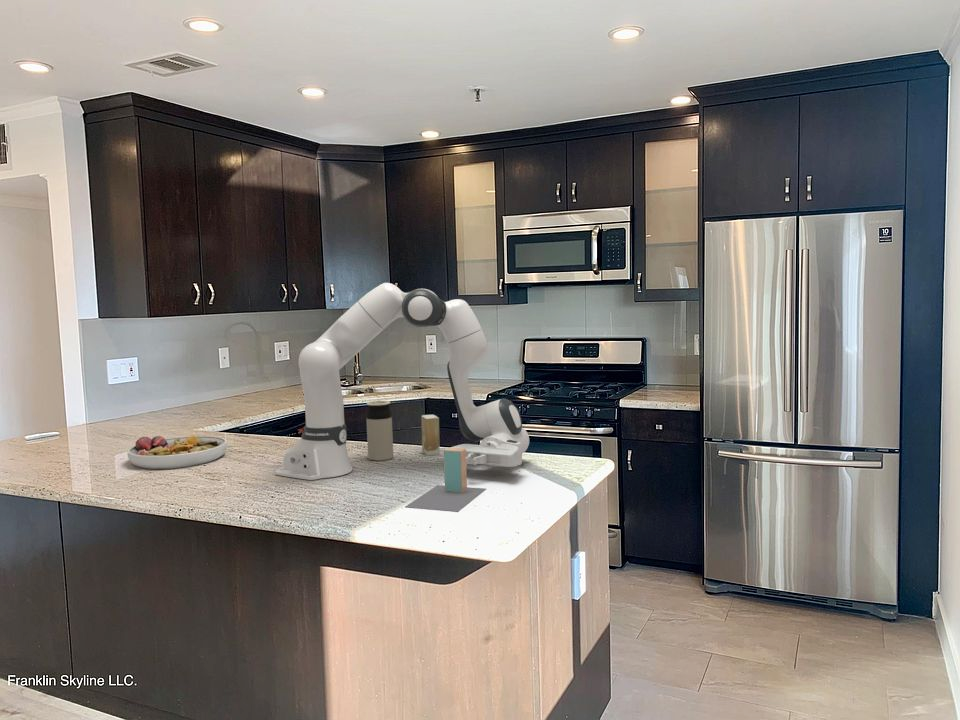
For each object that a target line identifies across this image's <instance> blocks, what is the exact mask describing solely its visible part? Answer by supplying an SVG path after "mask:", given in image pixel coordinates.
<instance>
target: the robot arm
mask: <svg viewBox="0 0 960 720" xmlns="http://www.w3.org/2000/svg"><path fill="white" fill-rule="evenodd" d="M399 318H404V319H405V320H406V322H407V323H409V325H412V326H414V327H418V328H427V327H434V326H437V327H438V328H439V330H440V331H441V333H442V335H443V336H444V339H445V342H446V344H447V346H448V350H449V361H448V362H447V365H446V369H447V375H448V380H449V385H450V388H451V392H452V396H453V399H454V402H455V406H456V410H457V416H458V424H459V429H460V432H461V434H462V436H464V437H465V438H466V439H468V440H469V441H472V442H474V443H478V442H480V443H479V444H473V443H462V444H458V445H455V446H451V447H450V448H461V449H466V465H473V466H475V465H479V464H480V465H486V466H488V467H491V468H497V467H505V468H513V467H516V466H521V465H522V461H523V454H524V453H525V452H526V451H527V450H528V447H529V445H530V437H529V434H528V431H527V430H526V429H525V428H523V420H522V416H521V413H520V411H519V408H518V407H517V406H516V405H515V403H513V402H512V401H511V400H509V399H507V398H500V399H497V400H494V401H490V402H488V403H486V404H481V405H479V406H476V405H475V404H474V400H473V397H472V393H471V389H470V386H469V379H468V378H469V375H470V373H471V372H472V371H473V369H474V368H476V366H477V365H478V364H479V363H481V362H482V360H483V359H484V357H485V355H486V353H487V348H488V343H487V338H486V335H485V334H484V330H483V328H482V326H481V324H480V322H479V320H478V318H477V316H476V314H475V313H474V311H473V310H472V308H471V306H470V305H469V303H468V302H466V301H465V300H464V299H462V298H458V299H457V298H456V299H451V300H448V301H443V300H442V299H440V298H439V297H438V295H437V294H436V293H435V292H434V291H432V290H430V289H427V288H417V289H413V290H411V291H407V292H404V291H402V290H401V289H400V288H399V287H398V286H397V285H396V284H393V283H390V282H383V283H381V284H379V285H378V286H376V287H374V288H373V289H372V290H369V292H367V293H366V294H365V295H363V296H362V297H361V298H359V299H358V300H357V301H356V303H354V304H353V305H352V306H350V308H349V309H348V310H346V311H345V312H344V313H343V314H342V315H340V317H339V318H337V320H336V321H334V323H333V324H332V325H331V326H330V327H329V328H328V329H327V330H326V331H325V332H324V333H322V335H321V336H319V337H318V338H317V339H316V340H315V341H313V342H311V343H309V344H307V345H305V347H303V348H302V350H301V351H300V353H299V357H298V368H299V375H300V376H299V377H300V382H301V388H302V392H303V398H304V399H303V400H304V411H305V425H304V426H303V427H302V428H299V429H298V431H299V432H298V434H301V437H300V438H299V440H298V441H296V443H294V444H293V445H292V446H291V447H290V448H288V449H287V450H286V451H285V452H284V455H283V458H282V459H283V460H282V461H283V462H282V466H281V467H279V468H277V469H276V470H275V474H274V475H276V476H280V477H282V476H283V477H288V478H294V479H300V480H307V481H314V480H315V481H316V480H319V479H326V478H334V477H336V478H337V477H339V476H343V475H347V474H349V473H351V472H352V471H353V468H352V465H351V462H350V458H349V454H348V447H347V436H348V435H347V425H346V423H345V410H344V409H345V408H344V396H343V391H342V385H341V378H340V377H341V376H340V370H341V369H342V368H343V367H344V366H345V365H347V363H348V362H349V361H351V360H352V359H353V358H354V357H355V356H356V355H357V354H358V353H360V352H361V350H363V349H364V348H365V347H366V346H367V345H368V344H370V342H372V341H373V339H375V338H376V337H377V336H378V335H379V334H381V332H383V331H384V330H385V329H386V328H387V327H388V326H389V325H390V324H392V323H393V322H394V321H396V320H397V319H399Z"/></svg>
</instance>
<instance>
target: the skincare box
mask: <svg viewBox="0 0 960 720" xmlns="http://www.w3.org/2000/svg"><path fill="white" fill-rule="evenodd" d="M421 446H422V447H421V448H422V449H421V451H422V453H424V454H425V455H426V456H434V455H436V456H437V455H440V454H441V453H440V451H441V450H440V448H441V447H440V417H438V416H437V415H435V414H425V415H424V414H422V415H421Z"/></svg>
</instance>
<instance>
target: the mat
mask: <svg viewBox="0 0 960 720" xmlns="http://www.w3.org/2000/svg"><path fill="white" fill-rule="evenodd" d="M485 491H487V488H483V487H482V488H481V487H469V486H467V491H465V492H463V493H455V492H445V484H444V485H439V484H436V486H434V487H432V488H431V489H429V490H428V491H427V492H424V493H423V494H421V495H420V496H419V497H417V498H416V499H415V500H412V501H411V502H410V503H408V504H407V505H405V506H404V508H406V509H417V510H418V509H419V510H430V511H440V512H441V511H442V512H454V513H459V512H460V511H462V509H464V508H465V507H466V506H468V504H470V503H471V502H472V501H474V500H475V499H476V498H478V497H479V496H480V495H481V494H483V493H484V492H485Z"/></svg>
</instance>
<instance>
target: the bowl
mask: <svg viewBox="0 0 960 720" xmlns="http://www.w3.org/2000/svg"><path fill="white" fill-rule="evenodd" d="M227 449H228V440H227V439H226V438H223V437H219V436H211V435H210V436H209V435H207V436H206V435H203V436H200V435H194V434H191V435H190V436H181V437H171V438H164V437H163V436H160V435H159V436H158V435H157V436H153V437H152V439H151V437H149V436H142V437H140V438H139V439H137V440H136V441H135V445H134V446H132V447H130V448H128V449H127V458H128V460H129V461H130V463H131V464H133V465H134V466H135V467H138V468H141V469H147V470H148V469H149V470H169V469H180V468H188V467H194V466H198V465H199V466H200V465H203V464H207V463H210V462H213V461H215V460H217V459H219V458H221V457H222V456H223V455H224V454H225V452H226V451H227Z"/></svg>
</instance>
